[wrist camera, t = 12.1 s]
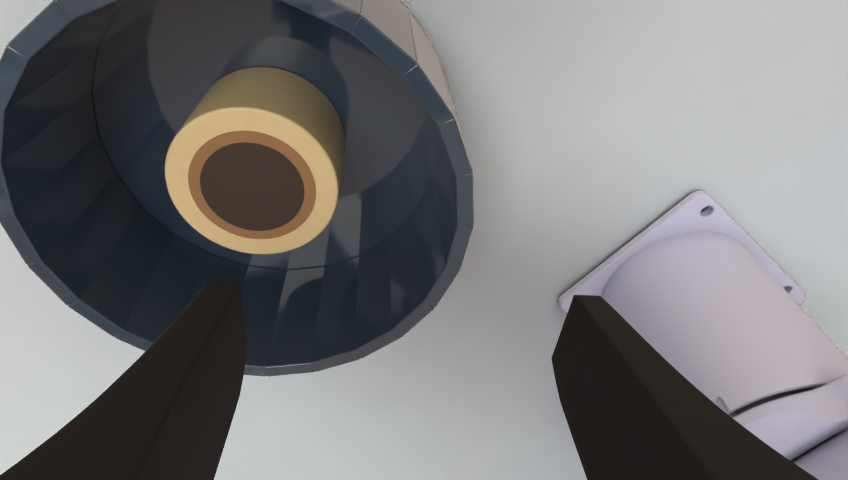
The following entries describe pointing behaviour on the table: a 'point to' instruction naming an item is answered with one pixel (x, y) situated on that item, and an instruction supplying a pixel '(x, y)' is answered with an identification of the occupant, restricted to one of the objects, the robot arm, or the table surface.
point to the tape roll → (258, 162)
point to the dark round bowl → (165, 115)
